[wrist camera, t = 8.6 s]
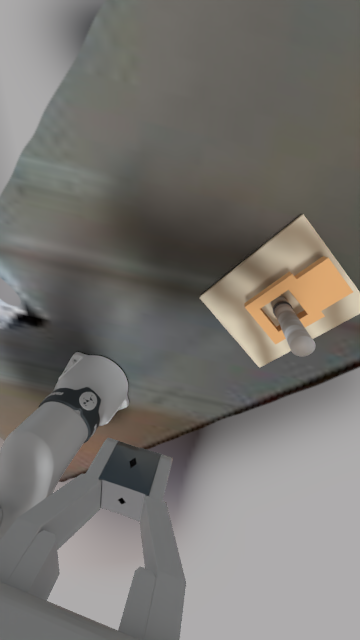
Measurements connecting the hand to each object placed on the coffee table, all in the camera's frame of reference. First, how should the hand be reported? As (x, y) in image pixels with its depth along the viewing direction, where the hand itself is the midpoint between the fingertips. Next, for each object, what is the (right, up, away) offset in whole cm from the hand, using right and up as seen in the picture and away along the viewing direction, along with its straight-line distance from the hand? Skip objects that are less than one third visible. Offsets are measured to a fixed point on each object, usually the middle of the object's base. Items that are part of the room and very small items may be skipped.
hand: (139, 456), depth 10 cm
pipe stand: (+19, +10, +29) cm, 36 cm away
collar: (+19, +9, +24) cm, 32 cm away
